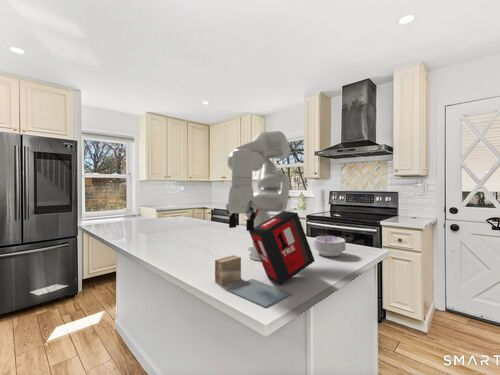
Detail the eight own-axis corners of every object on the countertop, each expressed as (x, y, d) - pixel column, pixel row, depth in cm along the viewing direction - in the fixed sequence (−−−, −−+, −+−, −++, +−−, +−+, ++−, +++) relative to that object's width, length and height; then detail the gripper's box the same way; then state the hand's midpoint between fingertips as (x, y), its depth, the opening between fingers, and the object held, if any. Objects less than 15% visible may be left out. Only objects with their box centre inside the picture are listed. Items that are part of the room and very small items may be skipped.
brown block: (215, 282, 95) (215, 260, 95) (233, 275, 101) (233, 255, 101) (222, 285, 92) (222, 262, 92) (240, 278, 98) (240, 257, 98)
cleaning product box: (300, 255, 106) (283, 210, 103) (314, 261, 98) (297, 212, 95) (267, 277, 100) (248, 230, 96) (280, 285, 92) (260, 234, 88)
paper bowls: (313, 257, 127) (313, 241, 127) (313, 249, 141) (313, 235, 141) (347, 259, 123) (347, 242, 123) (343, 251, 138) (343, 236, 138)
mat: (225, 289, 88) (225, 288, 88) (252, 279, 97) (252, 278, 97) (265, 308, 75) (265, 306, 75) (292, 294, 84) (292, 293, 84)
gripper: (219, 182, 102) (218, 227, 101) (250, 181, 89) (249, 232, 89) (234, 183, 107) (233, 226, 106) (265, 182, 94) (265, 230, 94)
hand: (241, 228), depth 97 cm, fingers open, 9 cm apart
